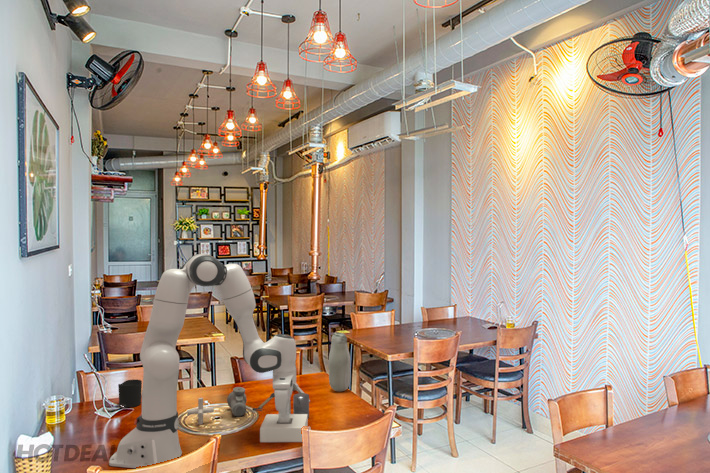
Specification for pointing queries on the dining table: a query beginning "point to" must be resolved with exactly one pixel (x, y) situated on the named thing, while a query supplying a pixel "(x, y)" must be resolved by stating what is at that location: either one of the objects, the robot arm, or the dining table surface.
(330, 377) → the grey bottle
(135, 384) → the pen holder
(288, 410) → the square bar
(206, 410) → the pipe connector
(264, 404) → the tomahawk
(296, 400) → the round pin
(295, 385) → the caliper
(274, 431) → the bore block
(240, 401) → the pipe fitting
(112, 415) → the dining table surface
